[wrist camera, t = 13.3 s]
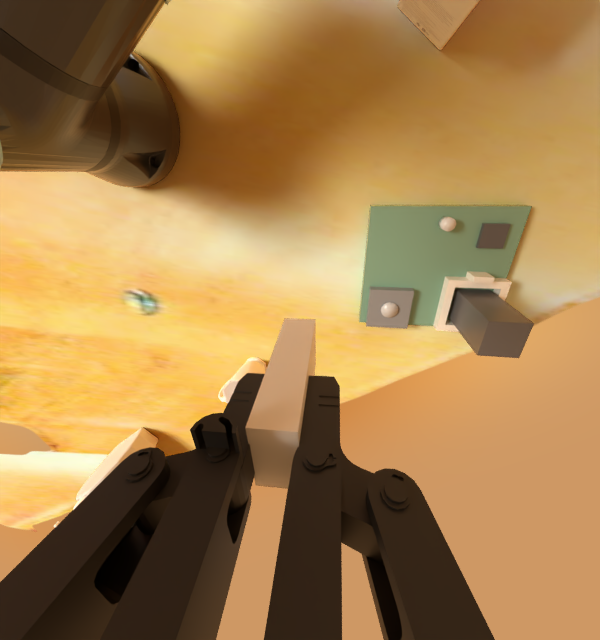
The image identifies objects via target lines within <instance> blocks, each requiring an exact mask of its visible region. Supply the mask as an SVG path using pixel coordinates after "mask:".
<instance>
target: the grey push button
mask: <svg viewBox="0 0 600 640" xmlns="http://www.w3.org/2000/svg"><path fill="white" fill-rule="evenodd" d="M413 295H414V290H413V288H399V287H371V286H370V290H369V299H368V307H367V316H366V326H371V327H389V328H407V326H408V321H409V316H410V311H411V306H412V300H413Z"/></svg>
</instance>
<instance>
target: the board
mask: <svg viewBox="0 0 600 640" xmlns="http://www.w3.org/2000/svg"><path fill="white" fill-rule="evenodd" d="M531 207H532V206H527V205H370V213H369V223H368V233H367V243H366V253H365V263H364V273H363V283H362V293H361V303H360V313H359V322H366V316H367V307H368V299H369V290H370V286H371V287H399V288H413V290H414V295H413V300H412V306H411V311H410V316H409V321H408V325H426V326H433V324H434V320H435V316H436V312H437V308H438V304H439V300H440V295H441V291H442V287H443V283H444V279H445V276H451V277H466V274H467V271H471V272H487V273H488V274H490V275H492V276H493V277H495V278H507V275H508V272H509V269H510V267H511V264H512V261H513V258H514V255H515V252H516V250H517V247H518V244H519V241H520V238H521V235H522V232H523V230H524V227H525V224H526V221H527V218H528V215H529V213H530V210H531ZM455 289H479V290H491V291H492V292H493V290H494V289H486V288H458V287H455ZM454 293H455V290H454ZM454 293H453V297H454ZM453 297H452V300H453ZM451 304H452V301H451ZM450 308H451V305H450ZM450 308H449V312H450ZM449 312H448V315H449ZM447 320H450V319H449V318H448V316H447Z"/></svg>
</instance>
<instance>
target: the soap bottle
mask: <svg viewBox="0 0 600 640" xmlns="http://www.w3.org/2000/svg"><path fill="white" fill-rule="evenodd" d="M157 442H158V438H156V437H155V436H154V435H152V434H151V433H150V432H148V431H147V430H146V429H144V428H141V429H139V430H138V431H136V432H135V433H134V434H132V435H131V436H129V437H128V438H126V439H125V440H124V441H122V442H121V443H119V444H118V445H117V446H116V447H115V448H114V449H113V450H112V452H111V453H110V454H109V455H108V456H107V457H106V458H105V459H104V460H103V461H102V463H101V464H100V465H99V466H98V467H97V468H96V469H95V471H94V472H93V473H92V474H91V476H90V477H89V478H88V479H87V481H86V482H85V483H84V485H83V486H82V488H81V489H80V491H79V492H78V494H77V497H76V500H77V501H78V502H77V503H76V505H75V506H74V509H75V508H76V507H77V506H78V505H79V504H80V503H81V502H82V501H83V500H84V499H85V498H86V497H87V496H88V495H89V494H90V493H91V492H92V491H93V490H94V489H95V488H96V487H97V486H98V485H99V484H100V483H101V482H102V481H103V480H104V479H105V478H106V477H107V476H108V475H109V474H110V473H111V472H112V471H113V470H114V469H115V468H116V467H117V466H118V465H119V464H120V463H121V462H122V461H123V460H124V459H126V458H127V457H128V456H129V455H131V454H132V453H134V452H136V451H138V450H141V449H144V448H149V447H152V448H155V447H156V444H157ZM74 509H73V510H74ZM60 523H61V522H59V521H57V522H56V524H55V525H54V527H56V526H58V525H59V524H60Z"/></svg>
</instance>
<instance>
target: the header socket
mask: <svg viewBox="0 0 600 640" xmlns="http://www.w3.org/2000/svg"><path fill="white" fill-rule="evenodd" d="M511 284H512V282H511V281H509V280H508V279H506V278H495V277H493V276H492V275H490V274H488V273H487V272H471V271H467V274H466V277H451V276H445V279H444V283H443V287H442V291H441V295H440V300H439V304H438V308H437V312H436V316H435V320H434V324H433V326H434V327H435V329H436V330H438V331H456V332H459V331H458V329H457V328H456V327H455V325H454V324H453V323H452V321H451V320H447V316H448V312H449V308H450V305H451V301H452V297H453V293H454V290H455V287H458V288H486V289H494V290H493V293H495V294H496V295H497V296H499V297H500V298H501V299H502V300H504V301H505V300H506V297H507V295H508V292H509V289H510V286H511Z"/></svg>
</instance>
